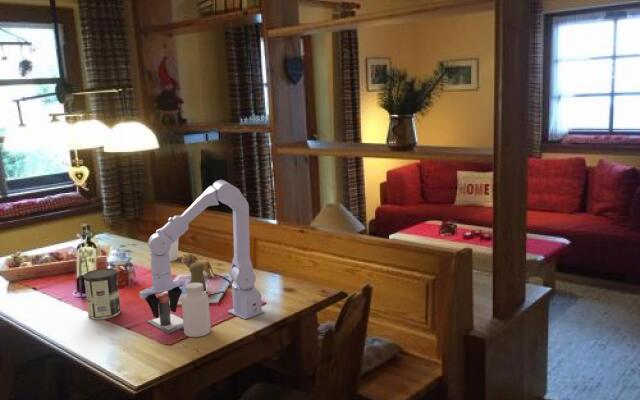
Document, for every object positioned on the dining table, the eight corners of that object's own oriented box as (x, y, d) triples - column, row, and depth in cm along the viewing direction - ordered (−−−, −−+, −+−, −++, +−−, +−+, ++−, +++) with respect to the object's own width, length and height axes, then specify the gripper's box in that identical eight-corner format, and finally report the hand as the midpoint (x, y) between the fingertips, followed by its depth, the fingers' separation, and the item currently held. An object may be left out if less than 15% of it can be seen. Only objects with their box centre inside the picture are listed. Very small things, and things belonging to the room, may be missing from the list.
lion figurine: (180, 277, 225) (178, 255, 224) (187, 272, 230) (185, 251, 229) (214, 279, 221) (213, 257, 220) (220, 275, 226) (219, 253, 225)
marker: (173, 323, 179) (170, 294, 177) (163, 326, 177) (161, 297, 175) (167, 320, 181) (165, 292, 180) (157, 324, 179) (155, 295, 177)
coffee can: (113, 305, 197) (109, 266, 195) (125, 313, 190) (121, 273, 187) (83, 313, 191) (78, 273, 188) (94, 322, 183) (90, 280, 180)
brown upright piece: (209, 289, 210) (207, 261, 208) (204, 295, 204) (202, 266, 202) (193, 289, 211) (190, 260, 209) (187, 295, 205) (185, 266, 203)
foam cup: (169, 263, 243) (167, 233, 240) (154, 260, 248) (151, 231, 245) (185, 257, 251) (183, 228, 248) (170, 254, 256) (168, 226, 253)
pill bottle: (199, 324, 180) (196, 279, 177) (216, 331, 174) (213, 284, 172) (178, 333, 174) (174, 286, 171) (195, 340, 168) (192, 291, 166)
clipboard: (194, 324, 179) (194, 320, 179) (168, 333, 173) (168, 329, 173) (172, 313, 189) (172, 310, 188) (147, 322, 182) (147, 318, 182)
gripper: (175, 264, 183) (178, 304, 186) (133, 275, 173) (136, 317, 176) (187, 268, 179) (190, 309, 181) (144, 280, 169) (148, 323, 171)
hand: (164, 314), depth 178 cm, fingers open, 5 cm apart
